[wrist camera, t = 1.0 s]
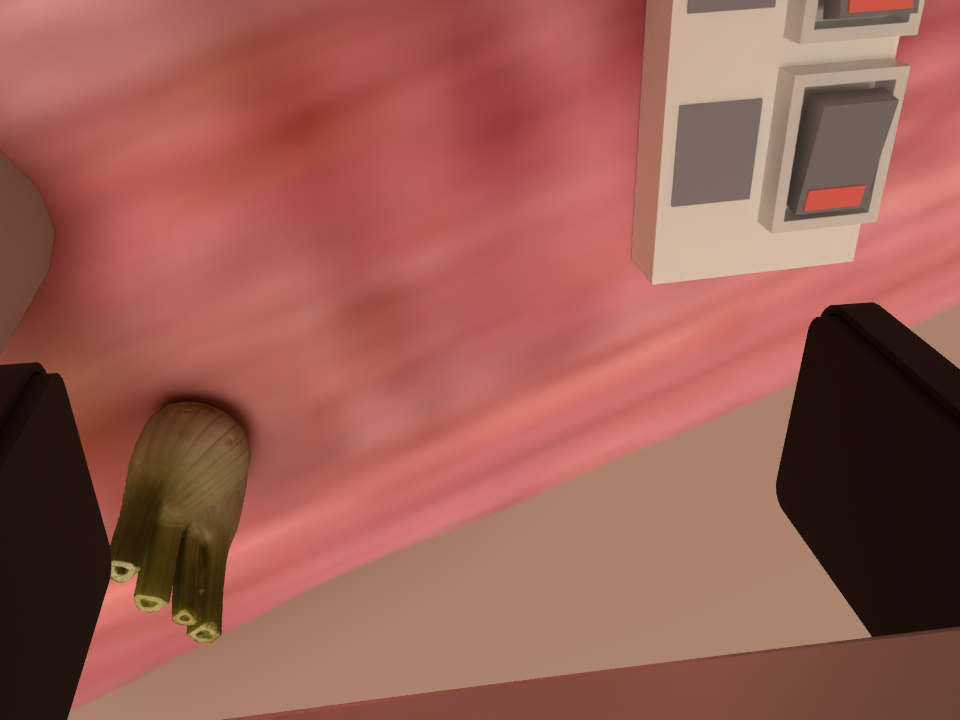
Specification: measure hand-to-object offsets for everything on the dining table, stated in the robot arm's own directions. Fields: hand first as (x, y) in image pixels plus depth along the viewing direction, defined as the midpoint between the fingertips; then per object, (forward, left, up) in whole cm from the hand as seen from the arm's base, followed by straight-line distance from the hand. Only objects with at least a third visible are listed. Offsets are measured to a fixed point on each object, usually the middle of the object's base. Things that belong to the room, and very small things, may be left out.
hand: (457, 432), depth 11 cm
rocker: (+6, +20, -24) cm, 31 cm away
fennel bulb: (+19, -10, -29) cm, 36 cm away
